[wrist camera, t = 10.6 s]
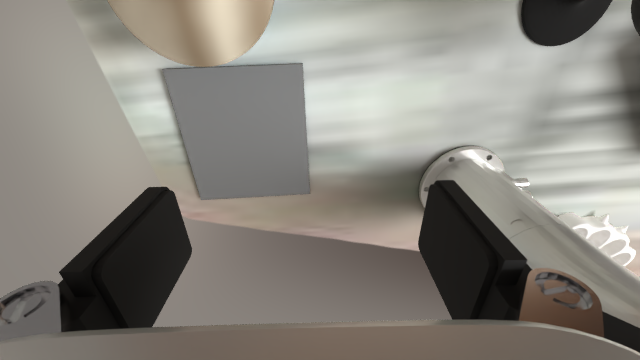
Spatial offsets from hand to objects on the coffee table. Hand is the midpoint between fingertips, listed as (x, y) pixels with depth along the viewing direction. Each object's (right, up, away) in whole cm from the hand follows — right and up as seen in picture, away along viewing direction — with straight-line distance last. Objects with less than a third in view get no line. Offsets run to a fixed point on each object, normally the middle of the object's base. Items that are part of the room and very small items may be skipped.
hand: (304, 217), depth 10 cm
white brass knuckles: (+48, -10, +41) cm, 64 cm away
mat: (-9, +7, +27) cm, 29 cm away
